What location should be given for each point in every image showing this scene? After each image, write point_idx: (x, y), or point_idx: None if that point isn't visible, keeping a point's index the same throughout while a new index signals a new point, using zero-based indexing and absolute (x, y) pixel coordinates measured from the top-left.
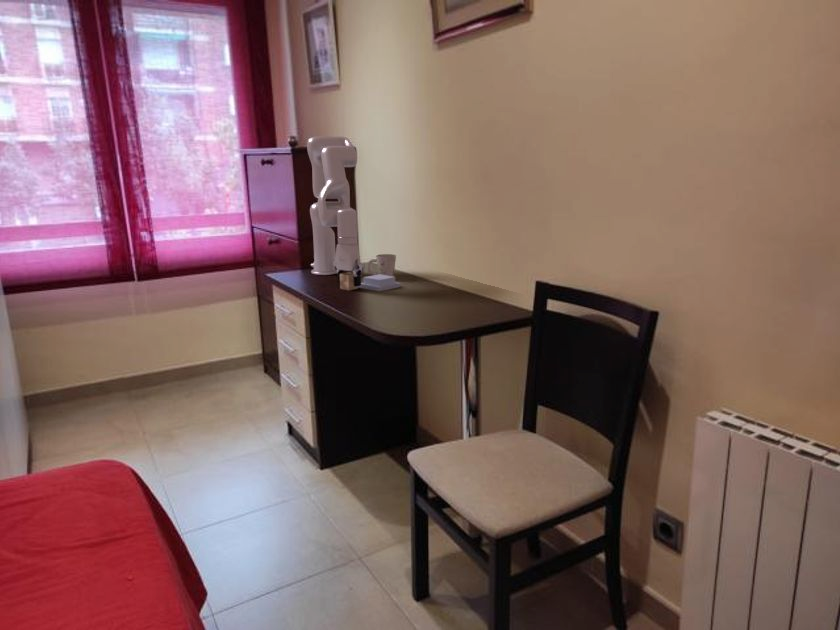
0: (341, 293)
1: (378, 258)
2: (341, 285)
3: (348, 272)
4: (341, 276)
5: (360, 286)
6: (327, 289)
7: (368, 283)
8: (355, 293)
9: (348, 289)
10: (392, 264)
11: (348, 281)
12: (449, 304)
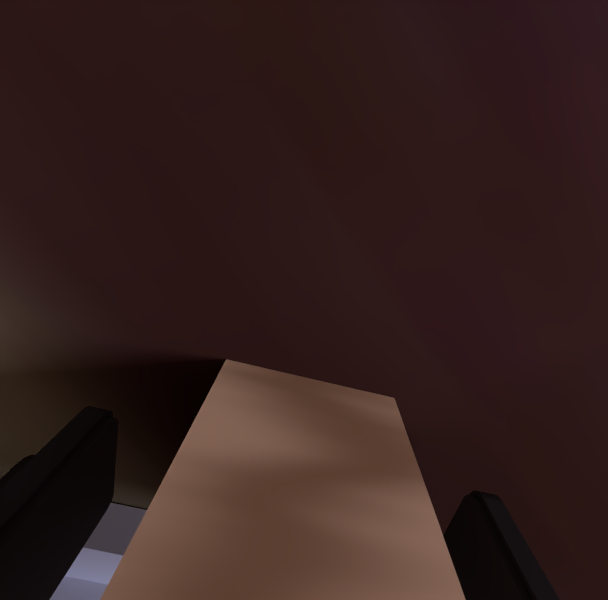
0: (170, 128)
1: None
2: (373, 423)
3: None
4: (400, 586)
5: None
6: (546, 278)
7: (75, 593)
8: (2, 237)
9: (223, 365)
10: None
11: (177, 457)
12: None
